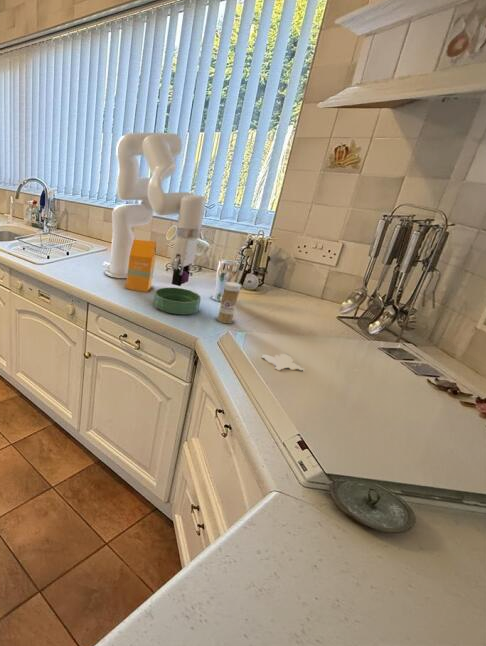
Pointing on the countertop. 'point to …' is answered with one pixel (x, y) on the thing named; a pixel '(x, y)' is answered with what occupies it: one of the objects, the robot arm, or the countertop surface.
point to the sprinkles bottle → (228, 302)
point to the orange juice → (141, 265)
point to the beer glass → (225, 276)
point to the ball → (184, 277)
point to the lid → (373, 506)
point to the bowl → (176, 300)
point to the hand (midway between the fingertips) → (179, 282)
